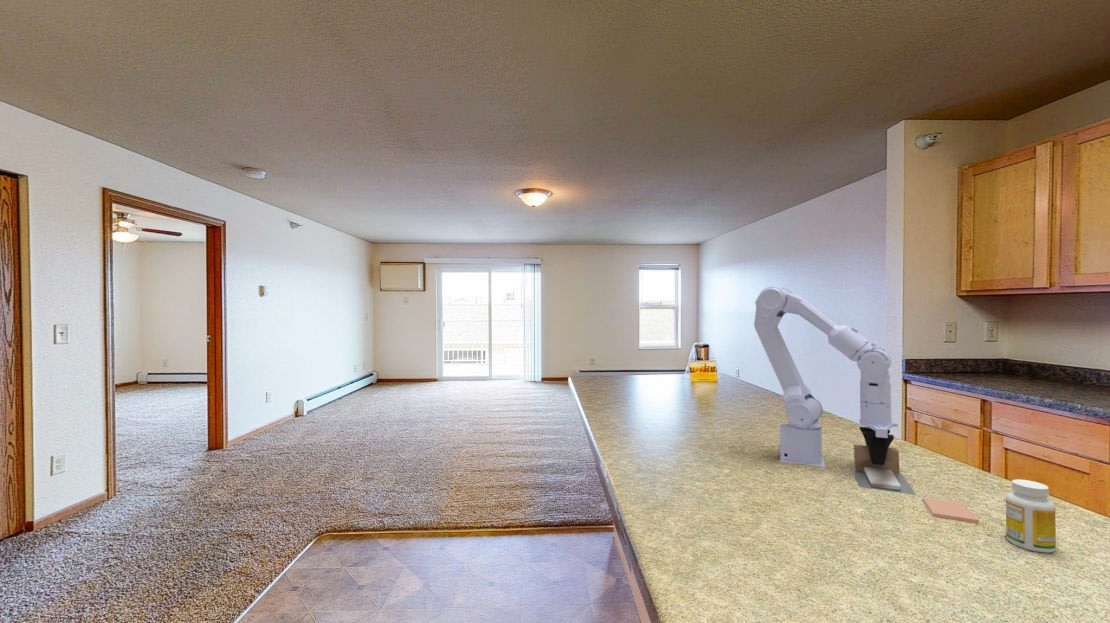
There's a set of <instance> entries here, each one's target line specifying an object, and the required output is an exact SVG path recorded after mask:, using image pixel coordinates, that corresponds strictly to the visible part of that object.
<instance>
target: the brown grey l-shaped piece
mask: <svg viewBox="0 0 1110 623" xmlns="http://www.w3.org/2000/svg"><path fill="white" fill-rule="evenodd" d="M899 452H900V451H899V450H898V449H897V447H889V448H888V451H887V455H886V459H885V463H884V465H877V464H872V461H871V458H870V453H869V447H868V446H866V445H861V444H853V458H854V460H853V462H854V467H855V468H856V470H863V471H864V472H865V474H866V476H867V478H868V481H869V483H870V485H871V487H877V488H886V489H895V490H901V485H900V484H899V482H898V480H897V479H896V477H895V475H894V474H900V473H901V472H900V470H901V469H900V457H899V456H900V454H899Z"/></svg>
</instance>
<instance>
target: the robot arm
mask: <svg viewBox="0 0 1110 623" xmlns="http://www.w3.org/2000/svg"><path fill="white" fill-rule="evenodd" d="M754 304H755V313H754V314H755V316H754V323H753V326H754V330H755V331H756V334H757V335H758V338H759V340H760V342H761V345H762V347H763V348H764V351H765V353H766V356H767V357H768V361H769V362H770V365H771V367H772V369H773V372H774V373H775V376H776V377H777V379H778V382H779V384H780V386H781V389H782V390H783V392H782V394H783V395H782V396H783V402H784V405H785V415H786V419H787V420H788V421H787V422H788V423H780V424H779V445H778V454H780V455H779V456H780V457H779V461H780V462H784V463H791V464H797V465H799V464H800V465H807V466H817V467H823V468H824V467H826V463H825V460H824V457H823V441H822V440H823V437H822V436H823V435H822V434H823V433H822V432H823V431H822V427H823V426H822V424H821V423H820V421H819V419H820V418H821V417H822V415H823V412H824V408H823V405H822V403H821V402H820V400H818V399H817V398H815V396H814V395H813V393H812V392H811V390H810V388H808V386H807V385H806V384H805V382H804V380H803V378H802V377H801V374H800V372H799V370H798V368H797V366H796V363H795V361H794V359H793V357H792V355H791V353H790V350H789V348H788V346H787V344H786V342H785V340H784V338H783V335H782V333H781V331H780V329H779V328H778V327H779V324H780V322H781V320H782V319H783V317H784V315H786V314H791V315H798V316H800V317H801V318H803V319H804V320H805V321H807V322H808V323H810V324H811V325H812V326H814V327H816V328H817V329H818V330H819V331H821V332H822V333H823V334H825V335H826V336H827V340H828V344H830V345H831V347H834V348H835V349H836V350H837V351H839V352H840V354H842V355H843V356H845V357H846V358H848V359H849V360H850V361H852V362H856V365H857V368H858V369H859V371H860V380H859V402H860V403H859V404H860V408H859V410H860V411H859V412H860V414H859V415H860V419H859V424H860V425H862V426H860V427H859V430H860V431H861V434H862V436H863V438H864V442H865V446H868V447H869V453H870V458H871V461H872V464H877V465H884V463H885V459H886V455H887V451H888V448H890V445H891V444H892V442H893V441H894V439H895V436H894V434H890V433H891V430H890V429H892V428H893V427H895V428H897V427H899V423H898V422H897V421H893V420H892V383H891V381H890V379H891V374H890V371H889V369H890V367H892V366H891V365H892V357H891V356H890V354H889V353H888V352H887V351H886V350H885V349H884V348H882V347H877V345H878V344H877V342H874V341H869V340H868V339H867V338H865V337H864V336H863V335H861V334H860V333H858V332H859V329H858V328H856V327H855V326H851V327H850V326H849V325H847V324H844V325H843V324H841V325H839V324H836V323H835V322H834V321H833V320H831V319H830V318H829V317H828V316H827V315H826V314H824V313H823V312H821V311H820V310H819V309H818V308H816V307H815V306H814V305H813V304H811V303H810V302H808V300H806V299H805V298H804V297H801V296H800V295H799V294H796V293H793V292H792V290H790V289H789V288H785V287H777V286H768V287H765V288H763V289H762V290H761V292H759V295H758V296H757V298H756V300H755V302H754Z"/></svg>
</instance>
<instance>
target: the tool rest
mask: <svg viewBox="0 0 1110 623" xmlns="http://www.w3.org/2000/svg"><path fill="white" fill-rule="evenodd" d="M850 469H851V471H852V474H853V475H854V479H855V481H856V483H857V486H858V488H862V489H863V488H864V489H871V490H878V491H887V492H893V493H900V494H907V495H915V496H917V494H916V492H915V491H914V489H913V488H912V487H911V485H910V484H909V482H908V481H907V479H906V478H905V476H904V475H903V473H901V472H900V474H894V475H895V477H896V479H897V480H898V482H899V484H900V485H901V490H895V489H886V488H877V487H871V485H870V483H869V481H868V478H867V476H866V474H865V472H864V471H863V470H856V468H855V466H854V467H853V466H850Z"/></svg>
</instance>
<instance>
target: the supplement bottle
mask: <svg viewBox="0 0 1110 623" xmlns="http://www.w3.org/2000/svg"><path fill="white" fill-rule="evenodd" d="M1011 489H1012V491H1010V492H1008V493H1007V494H1006V496H1005V536H1006V539H1007V540H1008V541H1009V542H1010V544H1013V545H1015V546H1017V547H1018V548H1022V549H1024V550H1028V551H1032V552H1036V553H1045V554H1048V553H1054V552H1055V551H1056V548H1057V544H1056V543H1057V542H1056V540H1057V536H1056V533H1057V532H1056V531H1057V529H1056V528H1057V527H1056V524H1057V523H1056V505H1055V503H1053V501H1052V500H1050V499H1049V498H1048V497H1049V495H1050V490H1049V489H1050V487H1049V486H1048V485H1046V484H1043V483H1041V482H1037V481H1032V480H1028V479H1021V478H1019V479H1012V481H1011Z"/></svg>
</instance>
